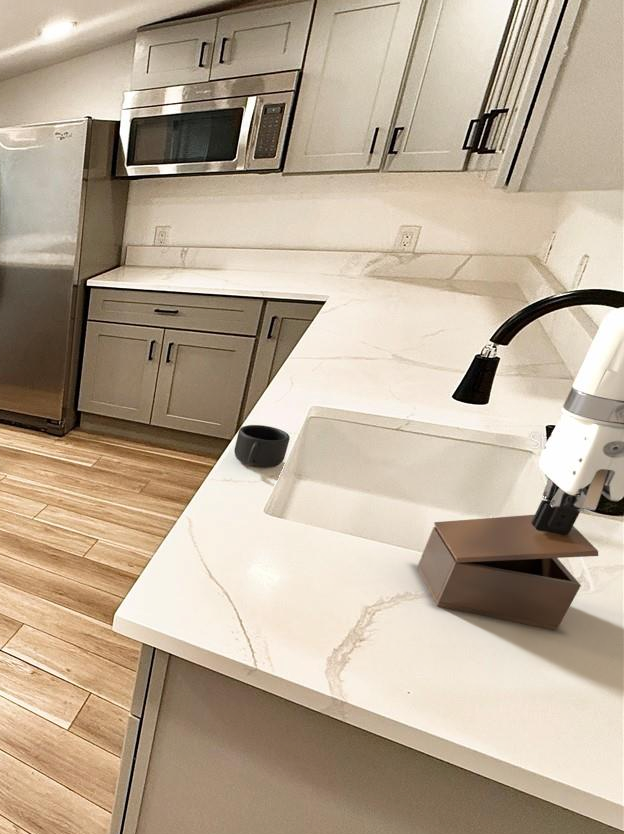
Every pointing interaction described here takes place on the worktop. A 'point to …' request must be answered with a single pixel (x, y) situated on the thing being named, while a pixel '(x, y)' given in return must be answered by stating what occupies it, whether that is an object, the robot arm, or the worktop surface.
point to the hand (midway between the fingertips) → (548, 529)
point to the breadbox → (499, 586)
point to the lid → (509, 540)
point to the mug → (261, 446)
